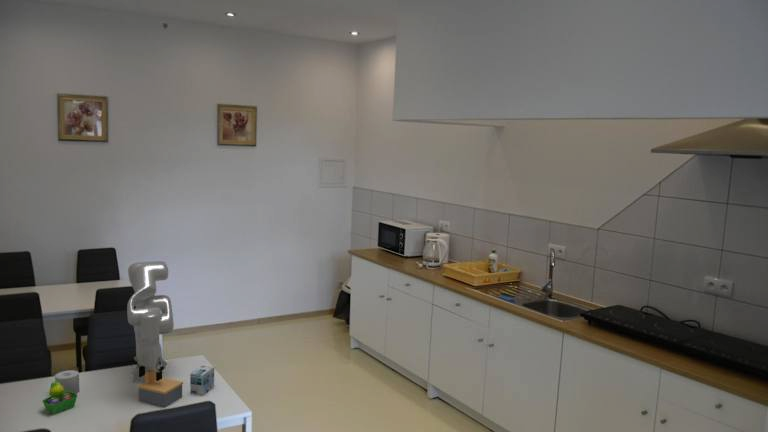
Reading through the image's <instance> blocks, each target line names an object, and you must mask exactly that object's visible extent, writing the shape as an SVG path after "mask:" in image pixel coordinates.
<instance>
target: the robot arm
mask: <svg viewBox="0 0 768 432" xmlns="http://www.w3.org/2000/svg"><path fill="white" fill-rule="evenodd" d="M127 273H128V274H127V275H128V280H129V282H130V285H131V287H132V288H133V289H132V290H133V291H134V293H133V294H132V295H131V296H130V298H129V300H128V301H127V305H126V306H127V307H126V313H127V321H128V324H129V325H131V326H133V329H134V337H135V352H136V353H135V354H136V356H134V357H133V359H134V361H135V364H136V367H133V368H132V370H131V371H130V373H131V374H133V375H134V377H133V378H132V382H133V383H134V384H135V383H137V384H142V383H144V382H145V372H147V371H149V370H151V369H156V381H159V380H161V379H162V377H163V371H164V370H165V369H166V367H167V365H168V362H167V361H166V360H164V359H163V352H162V351H163V350H162V346H161V343H160V335H166V334H170V333H172V332H173V330H174V314H173V308H172V307H173V306H172V301H171V300H172V299H171V297H170V296H169V295H165V294H161V295H160V294H157V295H156V292H157V282H156V281H160V282H161V281H166V280H167V279H168V277H169V267H168V265H167V263H166V262H165V261H162V260H159V261H158V260H157V261H140V262H134V263H132V264H130V265H129V266H128V269H127Z"/></svg>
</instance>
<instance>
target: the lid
mask: <svg viewBox="0 0 768 432" xmlns="http://www.w3.org/2000/svg"><path fill="white" fill-rule="evenodd" d="M181 385H182V386H183V385H184V381H181V380H177V379H172V378H167V377H163V376H162V379H161V380H159V381H156V369H151V370H149V371H147V372H145V382H144V383H139V384H138V385H137V389H138V390H139V389H144V390H148V391H152V392H157V393H161V394H167V393H168V392H170V391H172V390H174V389H175V388H177V387H179V386H181Z"/></svg>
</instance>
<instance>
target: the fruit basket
mask: <svg viewBox="0 0 768 432" xmlns="http://www.w3.org/2000/svg"><path fill="white" fill-rule="evenodd" d="M63 391H64V387H63V386H62V385H60V383H58V382H55V381H53V382H52V383H50V388H49V395H50V396H49V397H47V398H44V399H42V403H43V404H44V405H43V406H44V408H45V411H46V412H48V413H49V414H52V415H56V414H58V413H61V412H63V411H66V410H69V409H72V408H74V407H75V405H76V401H77V398H78V393H77V394H74V393H72V392H70V391H66V392H63Z"/></svg>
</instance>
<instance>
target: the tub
mask: <svg viewBox="0 0 768 432" xmlns="http://www.w3.org/2000/svg"><path fill="white" fill-rule="evenodd" d="M181 398H183V384H182V385H181V386H179V387H177V388H175V389H174V390H172V391H170V392H168V393H167V394H161V393H157V392H152V391H148V390H144V389H139V388H138V402H141V403H146V404H150V405H153V406H157V407H162V408H167V407H168V406H170V405H171V404H172V405H173V403H175V402H176V401H178V400H180V399H181Z"/></svg>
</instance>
